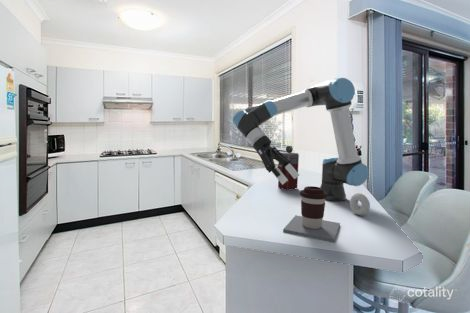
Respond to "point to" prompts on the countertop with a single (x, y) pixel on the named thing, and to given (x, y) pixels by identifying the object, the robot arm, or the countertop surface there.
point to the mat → (323, 233)
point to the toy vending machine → (291, 181)
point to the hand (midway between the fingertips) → (291, 179)
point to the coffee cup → (312, 206)
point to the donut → (364, 202)
